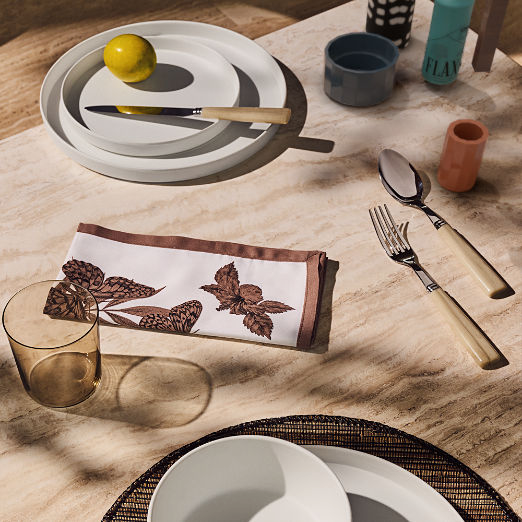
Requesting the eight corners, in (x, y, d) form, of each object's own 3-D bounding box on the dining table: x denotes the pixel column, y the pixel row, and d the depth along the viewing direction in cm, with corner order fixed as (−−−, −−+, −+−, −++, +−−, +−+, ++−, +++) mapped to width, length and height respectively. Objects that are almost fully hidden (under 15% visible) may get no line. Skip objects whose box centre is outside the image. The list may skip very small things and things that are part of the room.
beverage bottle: (415, 88, 117) (434, -25, 102) (423, 68, 121) (443, -44, 106) (453, 96, 115) (478, -18, 100) (460, 75, 119) (486, -38, 104)
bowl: (388, 66, 122) (393, 30, 116) (398, 107, 114) (404, 71, 108) (320, 68, 122) (322, 33, 116) (325, 110, 114) (327, 74, 108)
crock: (470, 166, 104) (483, 118, 97) (478, 191, 100) (493, 143, 93) (433, 167, 104) (444, 119, 97) (440, 192, 100) (452, 144, 93)
